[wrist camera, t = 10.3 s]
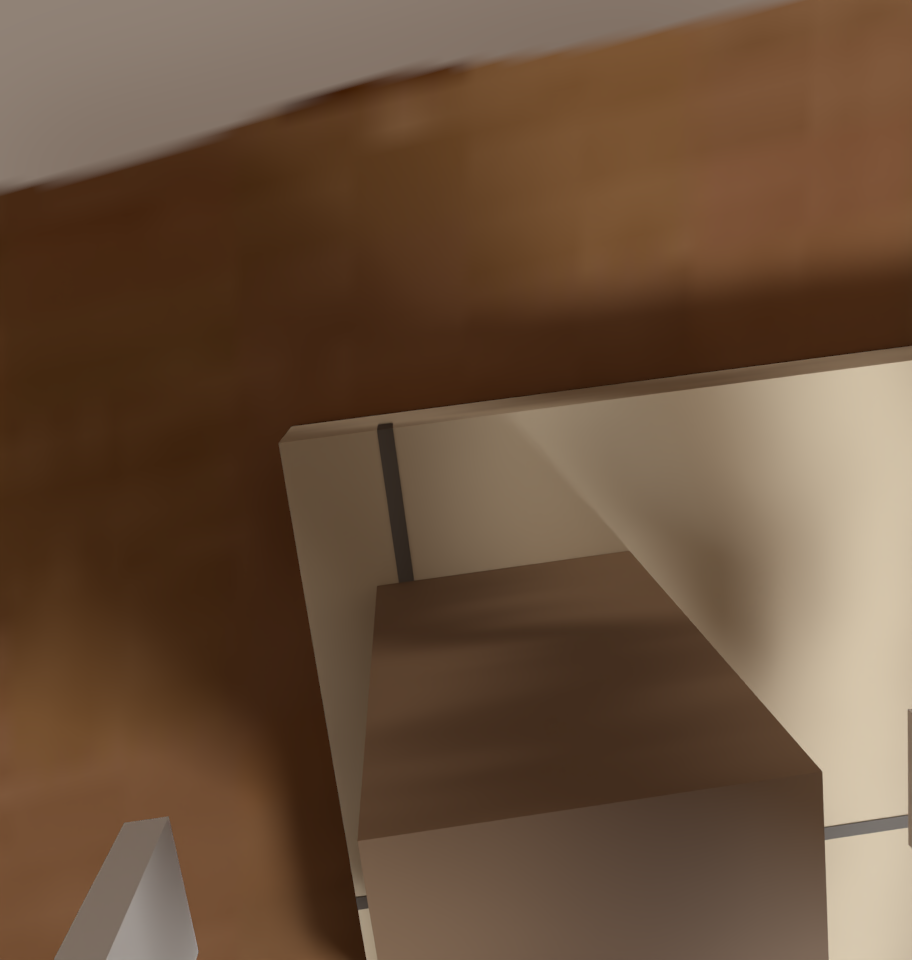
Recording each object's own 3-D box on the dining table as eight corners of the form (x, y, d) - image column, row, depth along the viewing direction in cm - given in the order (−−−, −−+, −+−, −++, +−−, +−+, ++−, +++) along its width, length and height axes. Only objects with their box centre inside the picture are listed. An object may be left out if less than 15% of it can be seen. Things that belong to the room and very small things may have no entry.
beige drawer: (430, 935, 19) (455, 1462, 10) (376, 585, 17) (354, 879, 9) (658, 900, 19) (865, 1389, 10) (629, 550, 17) (850, 804, 9)
